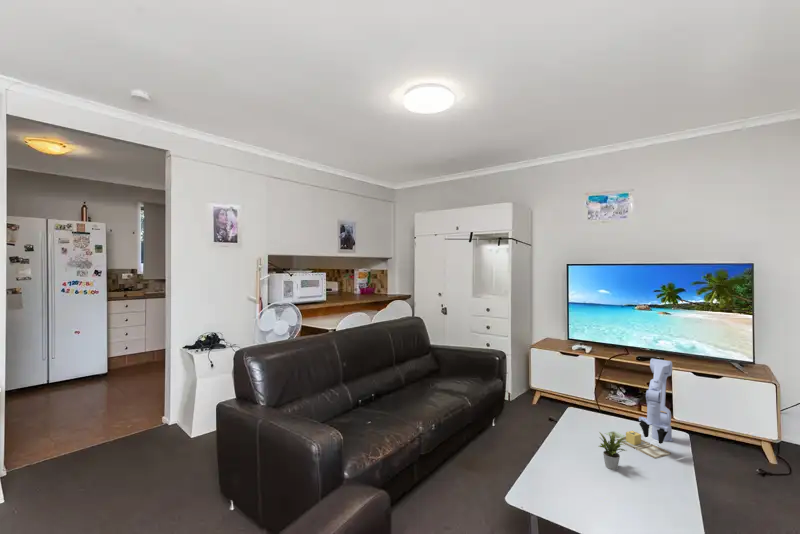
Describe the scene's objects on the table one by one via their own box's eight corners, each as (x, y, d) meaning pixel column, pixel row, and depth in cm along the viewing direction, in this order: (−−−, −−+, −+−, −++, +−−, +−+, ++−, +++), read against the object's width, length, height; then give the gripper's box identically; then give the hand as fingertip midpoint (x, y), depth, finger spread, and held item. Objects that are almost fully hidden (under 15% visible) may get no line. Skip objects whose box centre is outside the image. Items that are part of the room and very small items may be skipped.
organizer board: (618, 430, 226) (618, 428, 226) (672, 455, 197) (672, 452, 197) (601, 434, 221) (601, 432, 221) (655, 460, 192) (655, 457, 192)
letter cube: (632, 439, 213) (632, 430, 213) (641, 443, 208) (641, 434, 208) (625, 441, 211) (625, 431, 211) (634, 445, 207) (634, 435, 206)
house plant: (635, 478, 177) (635, 442, 176) (602, 474, 179) (602, 439, 179) (623, 462, 191) (624, 429, 190) (593, 459, 193) (593, 426, 193)
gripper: (635, 409, 205) (634, 435, 205) (662, 420, 191) (662, 447, 191) (644, 407, 207) (644, 433, 207) (672, 418, 194) (671, 445, 194)
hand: (653, 439), depth 199 cm, fingers open, 7 cm apart
